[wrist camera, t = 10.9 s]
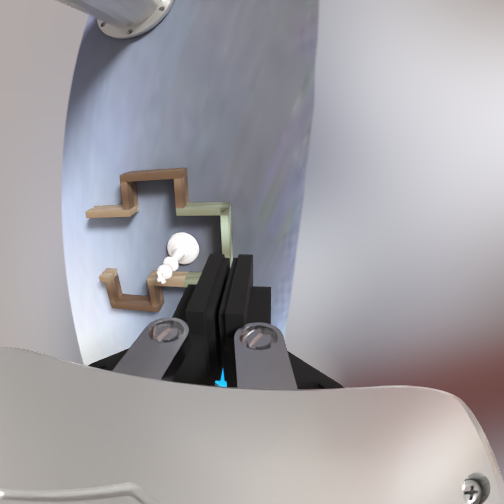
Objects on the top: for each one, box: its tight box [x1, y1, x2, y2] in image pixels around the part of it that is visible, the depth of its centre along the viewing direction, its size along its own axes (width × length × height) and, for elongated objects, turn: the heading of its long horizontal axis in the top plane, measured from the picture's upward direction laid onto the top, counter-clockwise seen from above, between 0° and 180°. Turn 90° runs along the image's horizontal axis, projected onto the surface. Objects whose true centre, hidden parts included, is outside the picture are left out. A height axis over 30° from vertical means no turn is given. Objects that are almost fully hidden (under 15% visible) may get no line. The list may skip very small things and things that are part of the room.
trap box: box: [86, 168, 233, 312], centre depth 42 cm, size 22×22×3 cm
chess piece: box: [157, 233, 199, 284], centre depth 39 cm, size 5×5×10 cm
